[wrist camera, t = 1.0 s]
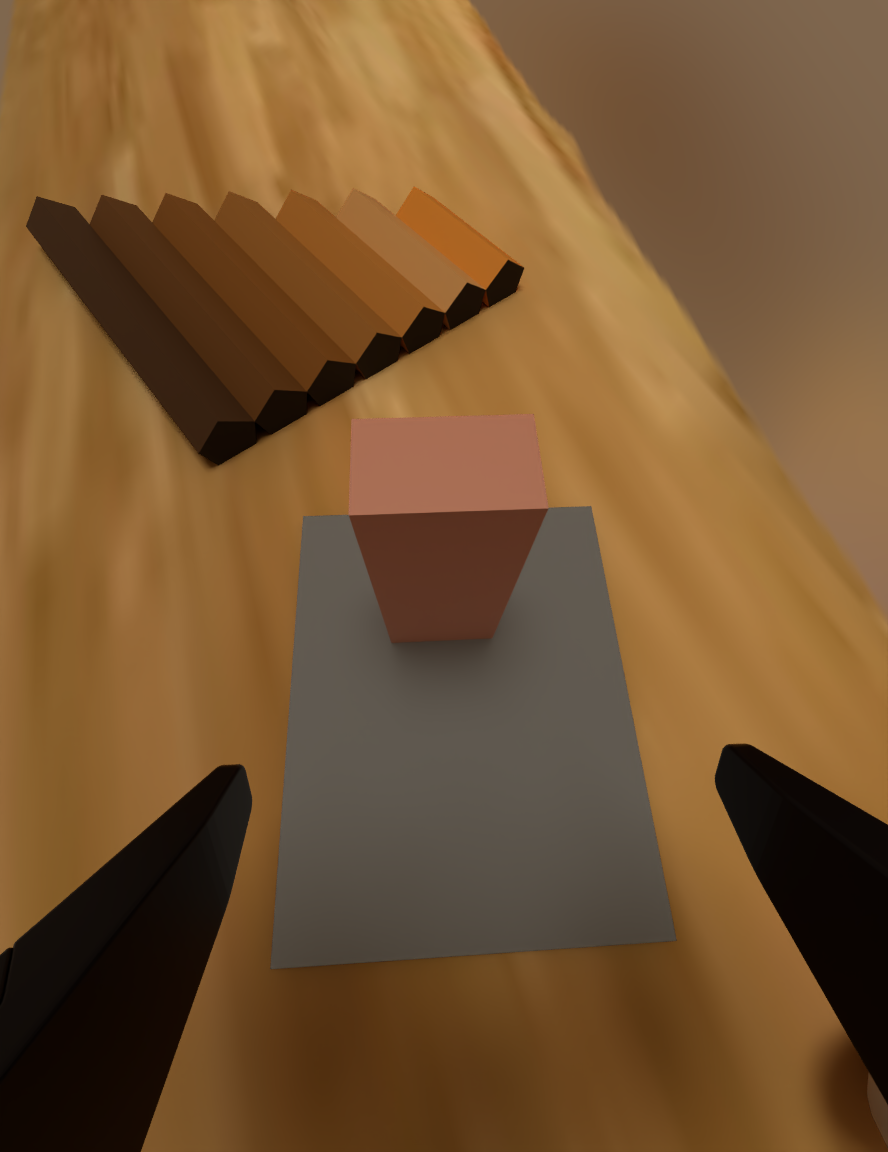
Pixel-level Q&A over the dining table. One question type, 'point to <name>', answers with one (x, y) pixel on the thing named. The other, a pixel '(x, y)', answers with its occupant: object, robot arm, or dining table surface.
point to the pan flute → (269, 298)
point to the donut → (878, 1108)
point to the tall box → (445, 518)
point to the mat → (462, 771)
